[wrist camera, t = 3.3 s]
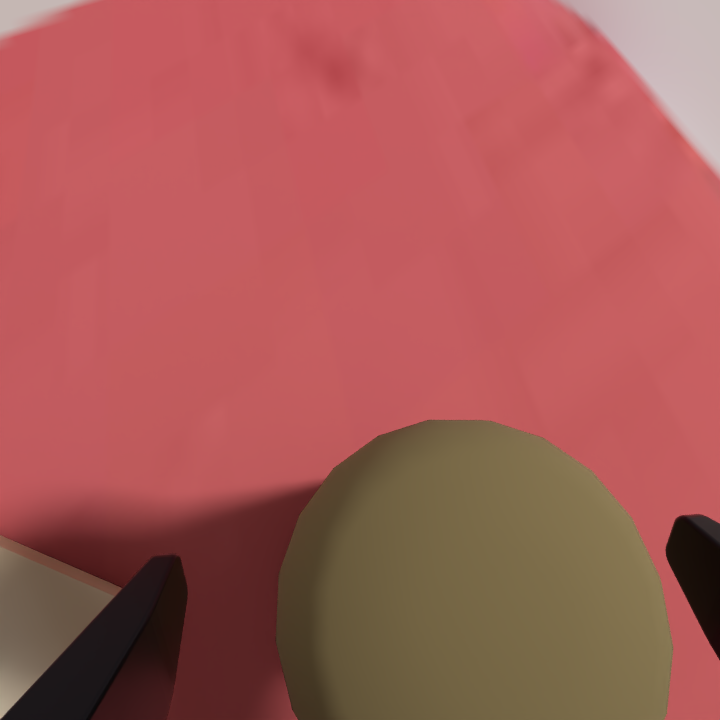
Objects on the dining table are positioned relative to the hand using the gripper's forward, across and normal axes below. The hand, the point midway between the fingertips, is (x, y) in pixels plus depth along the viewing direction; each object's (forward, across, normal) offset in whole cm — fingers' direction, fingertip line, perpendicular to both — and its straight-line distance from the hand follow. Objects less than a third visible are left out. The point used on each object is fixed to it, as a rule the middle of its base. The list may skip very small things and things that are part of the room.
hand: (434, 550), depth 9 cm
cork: (+5, 0, +6) cm, 8 cm away
